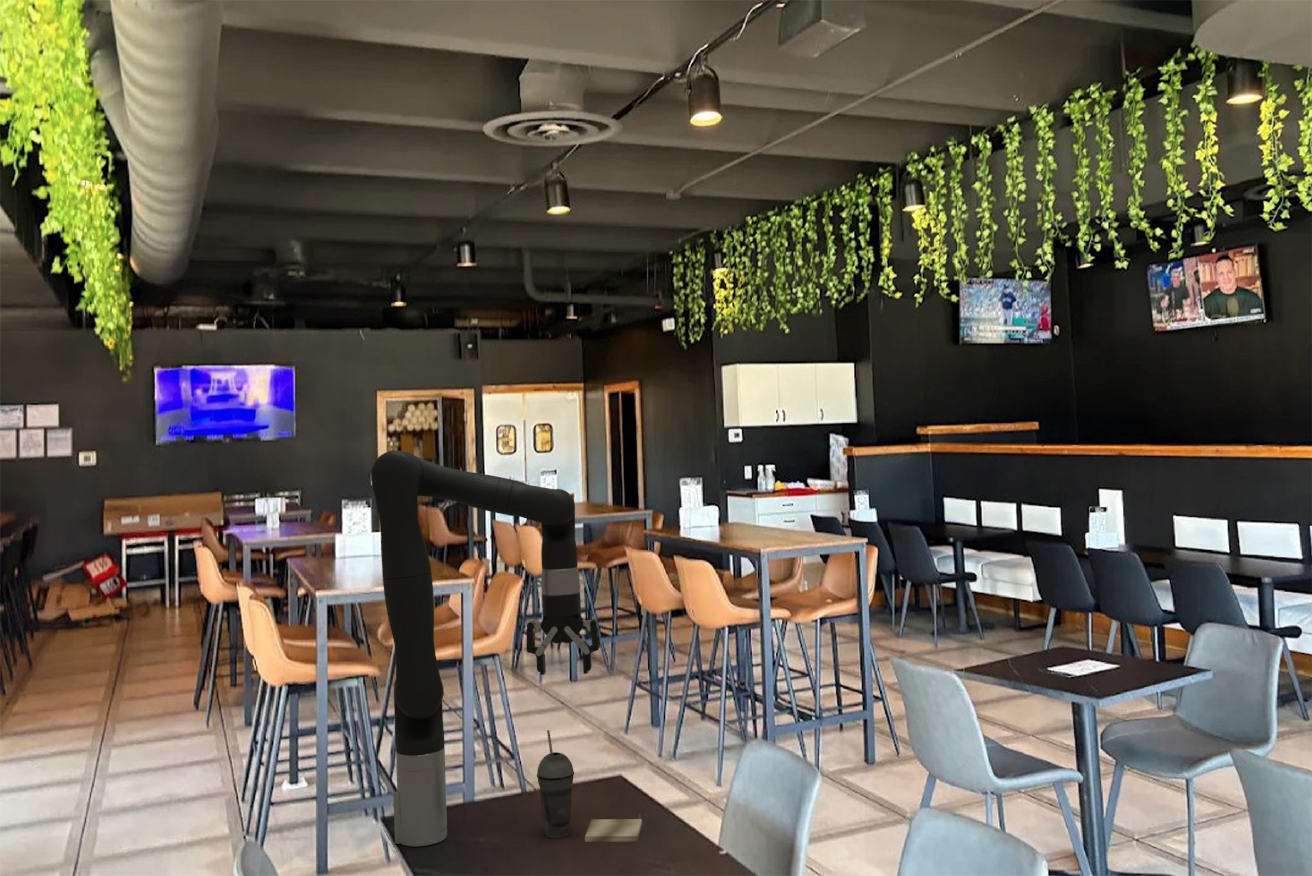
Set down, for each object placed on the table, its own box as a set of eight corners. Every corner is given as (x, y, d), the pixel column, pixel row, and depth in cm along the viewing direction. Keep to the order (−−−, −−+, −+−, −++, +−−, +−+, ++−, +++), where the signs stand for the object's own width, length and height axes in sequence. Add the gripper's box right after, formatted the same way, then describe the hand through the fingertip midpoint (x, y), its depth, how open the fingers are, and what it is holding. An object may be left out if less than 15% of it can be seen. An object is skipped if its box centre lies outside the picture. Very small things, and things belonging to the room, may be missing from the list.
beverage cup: (570, 842, 193) (566, 735, 194) (533, 840, 195) (530, 735, 195) (580, 828, 200) (577, 725, 201) (545, 826, 202) (541, 725, 202)
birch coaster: (584, 841, 193) (584, 836, 193) (591, 824, 202) (591, 819, 202) (637, 841, 192) (637, 836, 192) (642, 824, 201) (641, 819, 201)
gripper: (521, 594, 197) (524, 679, 197) (594, 592, 196) (598, 676, 196) (529, 589, 205) (532, 670, 204) (599, 587, 203) (603, 668, 203)
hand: (564, 673), depth 200 cm, fingers open, 8 cm apart
